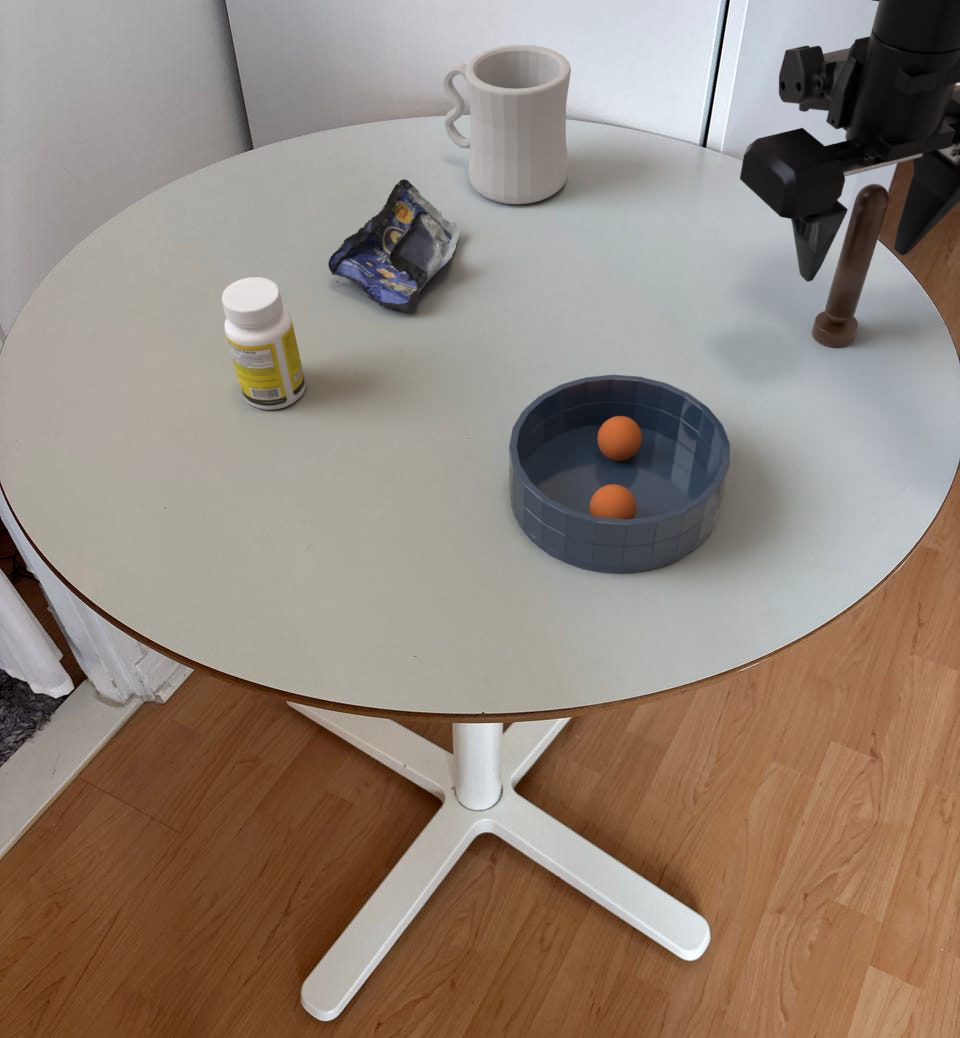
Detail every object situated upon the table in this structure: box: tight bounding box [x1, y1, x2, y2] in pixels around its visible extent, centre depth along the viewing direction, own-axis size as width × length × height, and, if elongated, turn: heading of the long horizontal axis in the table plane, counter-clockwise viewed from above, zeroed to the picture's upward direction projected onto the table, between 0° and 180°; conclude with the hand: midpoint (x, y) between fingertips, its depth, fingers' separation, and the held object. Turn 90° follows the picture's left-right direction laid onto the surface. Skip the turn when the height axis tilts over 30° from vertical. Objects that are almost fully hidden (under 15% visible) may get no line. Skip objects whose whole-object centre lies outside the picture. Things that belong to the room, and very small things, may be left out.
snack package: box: [328, 178, 460, 314], centre depth 84 cm, size 12×6×12 cm
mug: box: [441, 44, 572, 205], centre depth 90 cm, size 12×9×10 cm
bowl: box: [508, 374, 731, 574], centre depth 67 cm, size 14×14×4 cm
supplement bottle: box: [221, 276, 306, 411], centre depth 73 cm, size 5×5×8 cm
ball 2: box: [589, 484, 636, 519], centre depth 65 cm, size 3×3×3 cm
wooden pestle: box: [811, 183, 890, 348], centre depth 74 cm, size 3×3×12 cm
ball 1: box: [597, 416, 642, 461], centre depth 69 cm, size 3×3×3 cm
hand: (853, 265), depth 74 cm, fingers open, 8 cm apart
